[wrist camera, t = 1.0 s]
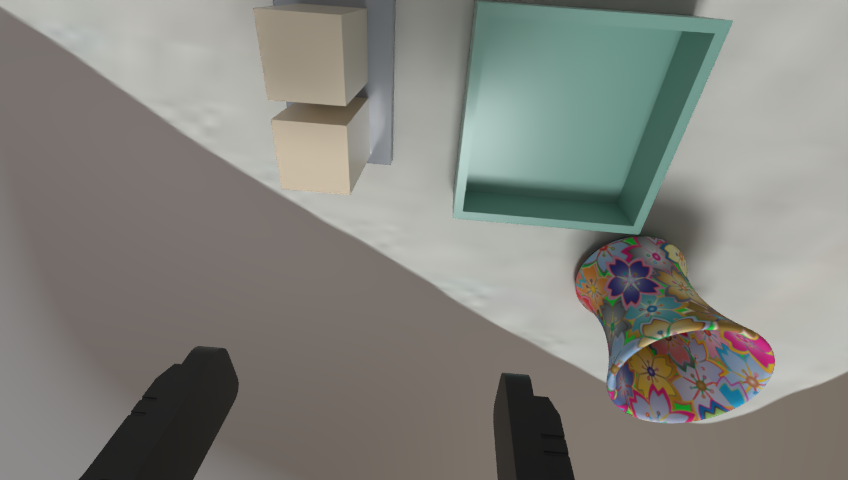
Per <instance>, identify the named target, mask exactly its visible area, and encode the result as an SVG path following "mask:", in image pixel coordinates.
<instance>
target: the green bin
mask: <svg viewBox="0 0 848 480" xmlns="http://www.w3.org/2000/svg"><path fill="white" fill-rule="evenodd" d="M732 22H733V21H731V20H723V19H715V18H707V17H699V16H690V15H676V14H663V13H649V12H636V11H622V10H609V9H595V8H582V7H568V6H555V5H541V4H528V3H514V2H501V1H487V0H475V7H474V15H473V24H472V33H471V42H470V50H469V59H468V68H467V77H466V85H465V94H464V103H463V112H462V120H461V129H460V138H459V147H458V155H457V164H456V173H455V182H454V190H453V218H454V219H466V220H477V221H489V222H500V223H511V224H523V225H534V226H546V227H557V228H568V229H580V230H591V231H602V232H614V233H625V234H637V235H639V234H640V232H641V230H642V227H643V225H644V223H645V220H646V218H647V216H648V214H649V211H650V209H651V207H652V205H653V202H654V200H655V198H656V195H657V193H658V191H659V189H660V186H661V184H662V182H663V179H664V177H665V175H666V173H667V170H668V168H669V166H670V164H671V161H672V159H673V157H674V154H675V152H676V150H677V148H678V145H679V143H680V141H681V139H682V136H683V134H684V132H685V129H686V127H687V125H688V123H689V120H690V118H691V116H692V113H693V111H694V109H695V107H696V104H697V102H698V100H699V98H700V95H701V93H702V91H703V88H704V86H705V84H706V82H707V79H708V77H709V75H710V72H711V70H712V68H713V66H714V63H715V61H716V59H717V57H718V54H719V52H720V50H721V47H722V45H723V43H724V41H725V38H726V36H727V34H728V32H729V29H730V27H731V25H732Z"/></svg>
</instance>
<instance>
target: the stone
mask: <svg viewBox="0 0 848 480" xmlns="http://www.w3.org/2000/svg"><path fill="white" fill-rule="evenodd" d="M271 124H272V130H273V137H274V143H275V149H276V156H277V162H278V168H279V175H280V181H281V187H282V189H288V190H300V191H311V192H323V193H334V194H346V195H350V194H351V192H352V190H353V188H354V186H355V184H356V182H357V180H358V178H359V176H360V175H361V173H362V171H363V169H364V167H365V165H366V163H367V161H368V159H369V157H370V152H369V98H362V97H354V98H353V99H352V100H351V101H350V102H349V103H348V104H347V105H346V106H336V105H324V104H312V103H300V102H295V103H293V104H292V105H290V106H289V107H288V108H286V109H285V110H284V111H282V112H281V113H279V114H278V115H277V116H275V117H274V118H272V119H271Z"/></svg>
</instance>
